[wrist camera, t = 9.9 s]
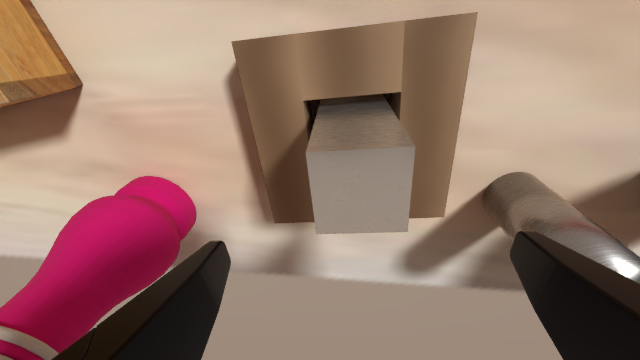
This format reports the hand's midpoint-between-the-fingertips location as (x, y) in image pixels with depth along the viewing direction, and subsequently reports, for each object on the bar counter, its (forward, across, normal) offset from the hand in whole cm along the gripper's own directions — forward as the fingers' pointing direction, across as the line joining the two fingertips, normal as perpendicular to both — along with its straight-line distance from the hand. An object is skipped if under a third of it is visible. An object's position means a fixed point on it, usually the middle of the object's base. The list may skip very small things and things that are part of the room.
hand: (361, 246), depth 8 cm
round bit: (+12, -12, +6) cm, 18 cm away
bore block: (+12, 0, 0) cm, 12 cm away
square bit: (+12, 0, 0) cm, 12 cm away
